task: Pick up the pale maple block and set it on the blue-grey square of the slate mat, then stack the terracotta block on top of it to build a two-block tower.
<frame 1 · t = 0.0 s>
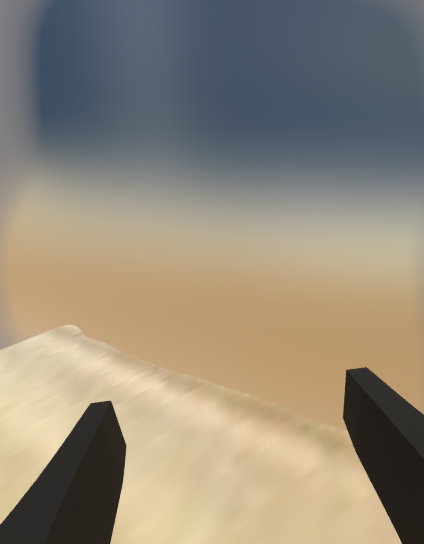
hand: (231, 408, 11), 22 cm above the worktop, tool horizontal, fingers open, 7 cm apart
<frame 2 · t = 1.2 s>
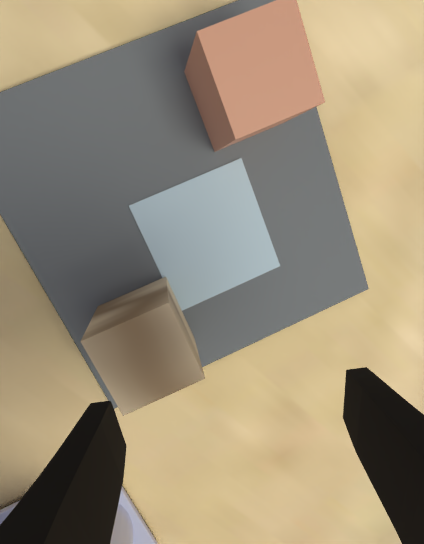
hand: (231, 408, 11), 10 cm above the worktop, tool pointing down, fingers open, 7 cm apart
maple block: (147, 322, 19), point 1 cm above the worktop, touching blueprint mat
terracotta block: (235, 98, 18), resting on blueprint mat
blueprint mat: (188, 215, 19), on the worktop
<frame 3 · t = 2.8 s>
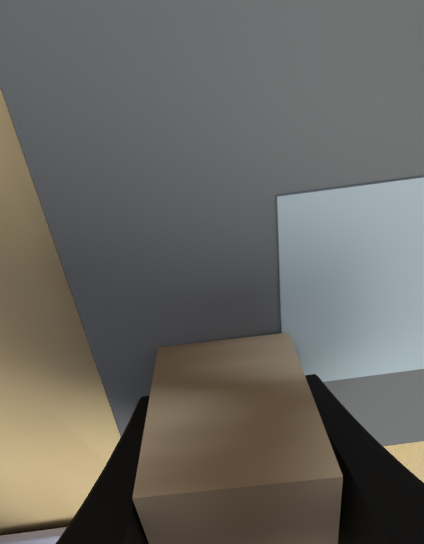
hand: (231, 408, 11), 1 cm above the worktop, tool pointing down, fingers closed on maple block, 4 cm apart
maple block: (229, 388, 11), point 1 cm above the worktop, touching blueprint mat, gripper
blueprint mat: (368, 237, 10), on the worktop
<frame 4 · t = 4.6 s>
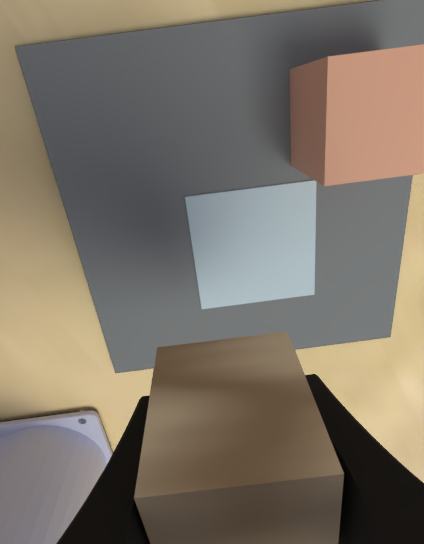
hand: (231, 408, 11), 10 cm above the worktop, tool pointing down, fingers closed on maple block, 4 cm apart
maple block: (228, 387, 12), point 9 cm above the worktop, touching gripper
terracotta block: (334, 114, 16), resting on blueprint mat
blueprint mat: (241, 219, 18), on the worktop
when the fingers open (3 cm above the worktop, at t = 6.5 s): maple block drops 1 cm, resting on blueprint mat.
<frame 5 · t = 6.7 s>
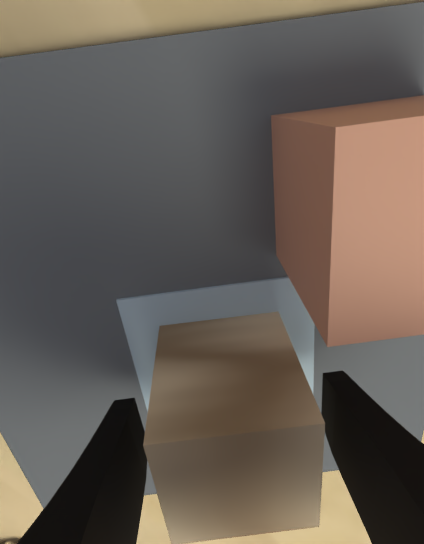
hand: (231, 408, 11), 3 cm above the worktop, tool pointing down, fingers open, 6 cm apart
maple block: (224, 364, 13), point 1 cm above the worktop, touching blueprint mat
terracotta block: (343, 182, 10), resting on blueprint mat
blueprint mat: (206, 322, 12), on the worktop
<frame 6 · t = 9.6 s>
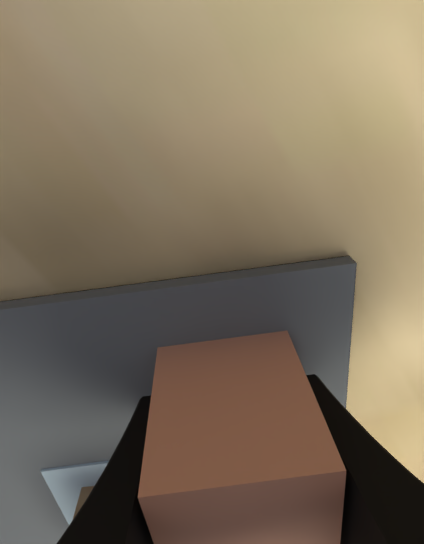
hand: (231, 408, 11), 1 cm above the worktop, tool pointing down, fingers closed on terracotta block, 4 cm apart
terracotta block: (228, 387, 12), resting on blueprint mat, touching gripper
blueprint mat: (127, 475, 14), on the worktop
when the fingers open (7 cm above the worktop, at t = 12.5 s): terracotta block drops 1 cm, resting on maple block.
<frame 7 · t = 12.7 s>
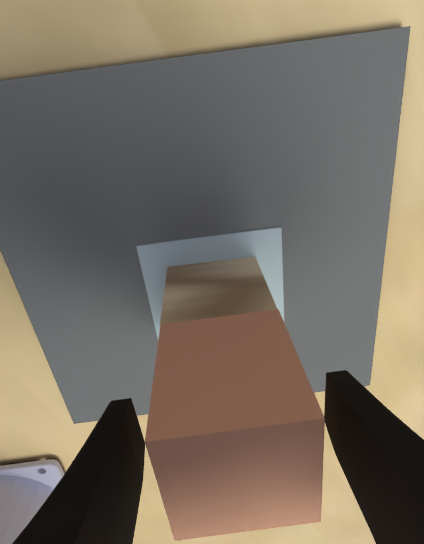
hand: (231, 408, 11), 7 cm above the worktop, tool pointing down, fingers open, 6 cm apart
maple block: (215, 299, 17), point 1 cm above the worktop, touching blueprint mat, terracotta block
terracotta block: (225, 362, 13), point 5 cm above the worktop, touching maple block
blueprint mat: (202, 267, 17), on the worktop
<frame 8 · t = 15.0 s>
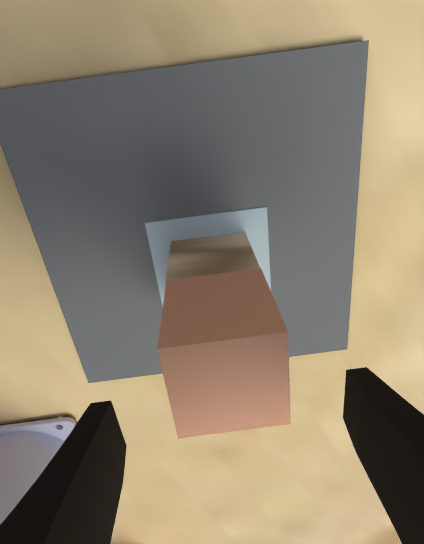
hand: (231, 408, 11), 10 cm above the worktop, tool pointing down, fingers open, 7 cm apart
maple block: (212, 270, 20), point 1 cm above the worktop, touching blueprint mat, terracotta block
terracotta block: (218, 314, 15), point 5 cm above the worktop, touching maple block
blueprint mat: (200, 242, 19), on the worktop
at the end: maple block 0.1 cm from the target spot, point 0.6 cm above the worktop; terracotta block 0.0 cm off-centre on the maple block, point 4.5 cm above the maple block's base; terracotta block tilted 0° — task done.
